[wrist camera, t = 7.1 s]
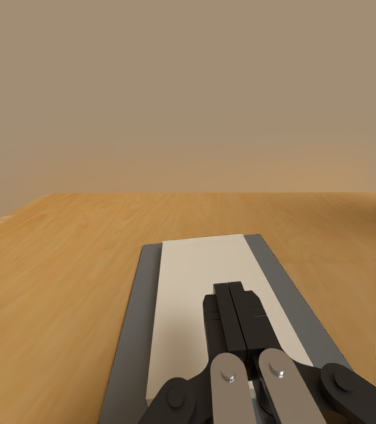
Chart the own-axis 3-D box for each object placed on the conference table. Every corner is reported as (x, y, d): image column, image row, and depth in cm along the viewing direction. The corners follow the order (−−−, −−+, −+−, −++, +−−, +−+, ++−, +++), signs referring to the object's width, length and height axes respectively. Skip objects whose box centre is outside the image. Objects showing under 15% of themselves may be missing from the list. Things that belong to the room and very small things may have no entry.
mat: (444, 512, 9) (448, 510, 9) (68, 552, 9) (65, 551, 9) (259, 236, 29) (259, 234, 29) (144, 247, 29) (143, 245, 28)
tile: (321, 381, 12) (242, 233, 26) (145, 399, 12) (163, 241, 26) (316, 395, 12) (241, 243, 27) (149, 411, 12) (164, 250, 27)
